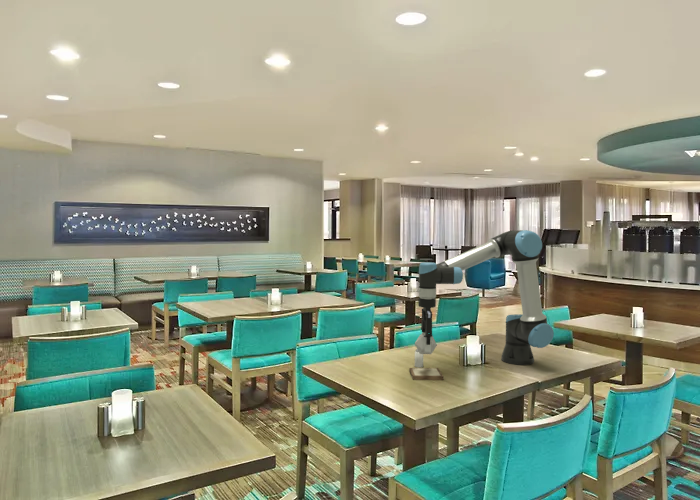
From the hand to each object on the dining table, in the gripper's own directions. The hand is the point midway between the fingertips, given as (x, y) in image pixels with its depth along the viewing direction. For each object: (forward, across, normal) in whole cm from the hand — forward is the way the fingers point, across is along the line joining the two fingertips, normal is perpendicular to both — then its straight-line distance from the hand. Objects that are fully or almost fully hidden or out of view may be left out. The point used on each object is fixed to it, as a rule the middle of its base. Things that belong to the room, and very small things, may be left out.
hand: (426, 349), depth 221 cm
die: (+2, 0, 0) cm, 2 cm away
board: (+12, 0, 0) cm, 12 cm away
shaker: (+12, -15, -1) cm, 19 cm away
